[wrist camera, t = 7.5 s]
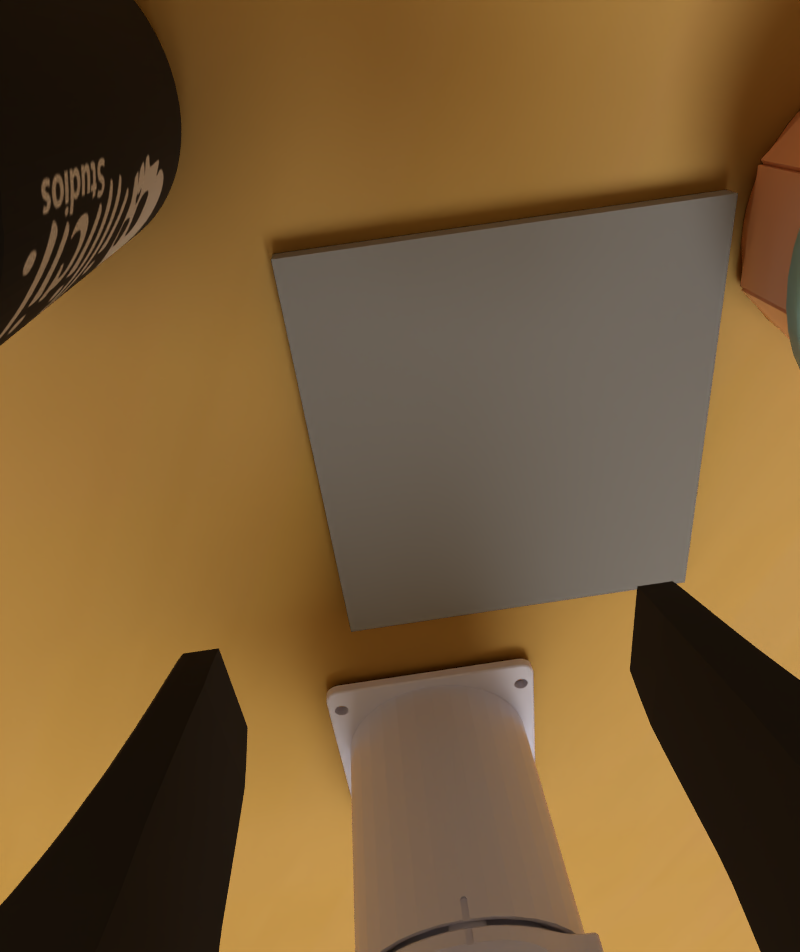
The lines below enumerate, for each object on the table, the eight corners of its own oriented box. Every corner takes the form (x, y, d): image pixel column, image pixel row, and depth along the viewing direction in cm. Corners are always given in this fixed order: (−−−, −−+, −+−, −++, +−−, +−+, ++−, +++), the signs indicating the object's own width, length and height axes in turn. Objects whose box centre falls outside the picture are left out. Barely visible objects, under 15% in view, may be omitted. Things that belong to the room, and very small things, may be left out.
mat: (677, 571, 24) (684, 582, 24) (350, 619, 24) (351, 631, 24) (725, 189, 18) (737, 193, 17) (272, 254, 17) (271, 259, 17)
